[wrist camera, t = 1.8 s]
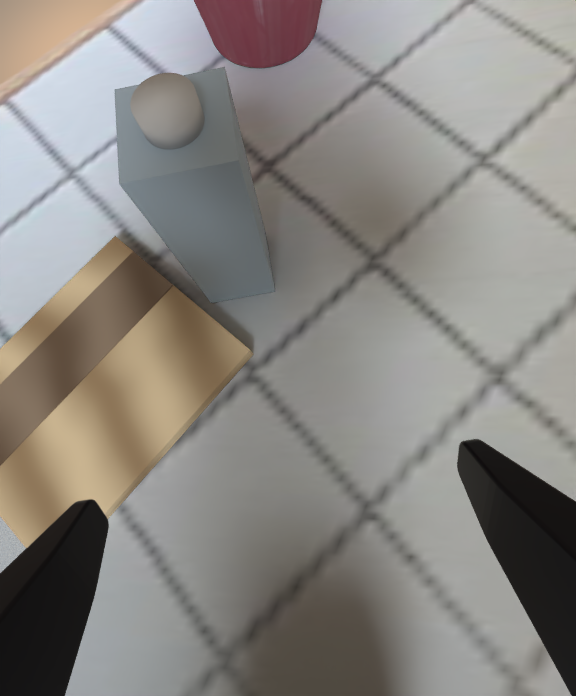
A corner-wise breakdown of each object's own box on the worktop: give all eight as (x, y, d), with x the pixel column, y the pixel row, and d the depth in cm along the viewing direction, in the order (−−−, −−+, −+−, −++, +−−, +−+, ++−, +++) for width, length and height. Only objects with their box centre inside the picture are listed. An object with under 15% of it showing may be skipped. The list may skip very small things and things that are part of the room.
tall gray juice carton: (275, 291, 25) (232, 137, 12) (211, 303, 25) (103, 163, 12) (265, 234, 26) (217, 40, 13) (204, 245, 26) (100, 64, 13)
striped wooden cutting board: (63, 569, 21) (47, 577, 20) (-57, 423, 24) (-77, 422, 23) (253, 354, 24) (250, 349, 22) (123, 245, 26) (114, 235, 25)
